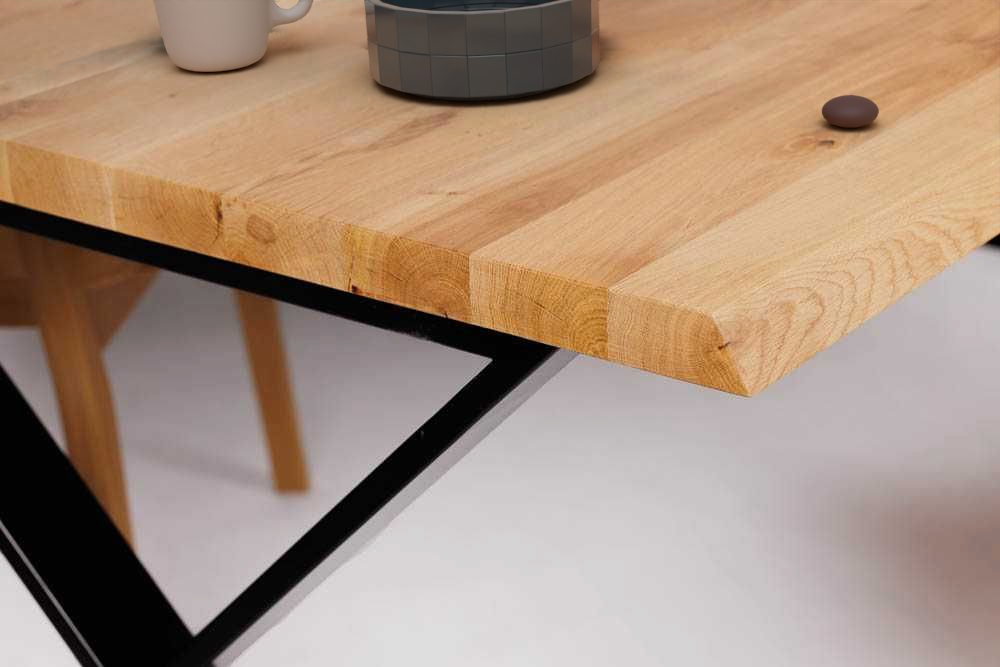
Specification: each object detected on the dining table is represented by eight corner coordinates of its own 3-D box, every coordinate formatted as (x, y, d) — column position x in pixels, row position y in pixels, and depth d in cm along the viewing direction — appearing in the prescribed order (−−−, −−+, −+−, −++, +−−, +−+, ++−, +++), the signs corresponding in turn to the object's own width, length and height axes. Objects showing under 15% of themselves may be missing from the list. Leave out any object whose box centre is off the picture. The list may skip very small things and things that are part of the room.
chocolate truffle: (819, 132, 77) (821, 104, 76) (821, 116, 80) (823, 88, 79) (877, 134, 76) (879, 105, 76) (877, 118, 79) (879, 90, 78)
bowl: (518, 119, 81) (514, 22, 79) (325, 90, 89) (316, 0, 86) (639, 60, 92) (639, -27, 90) (457, 38, 99) (453, -43, 97)
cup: (309, 39, 101) (297, -78, 98) (332, 65, 94) (320, -60, 91) (153, 56, 98) (135, -63, 95) (165, 85, 91) (146, -43, 88)
